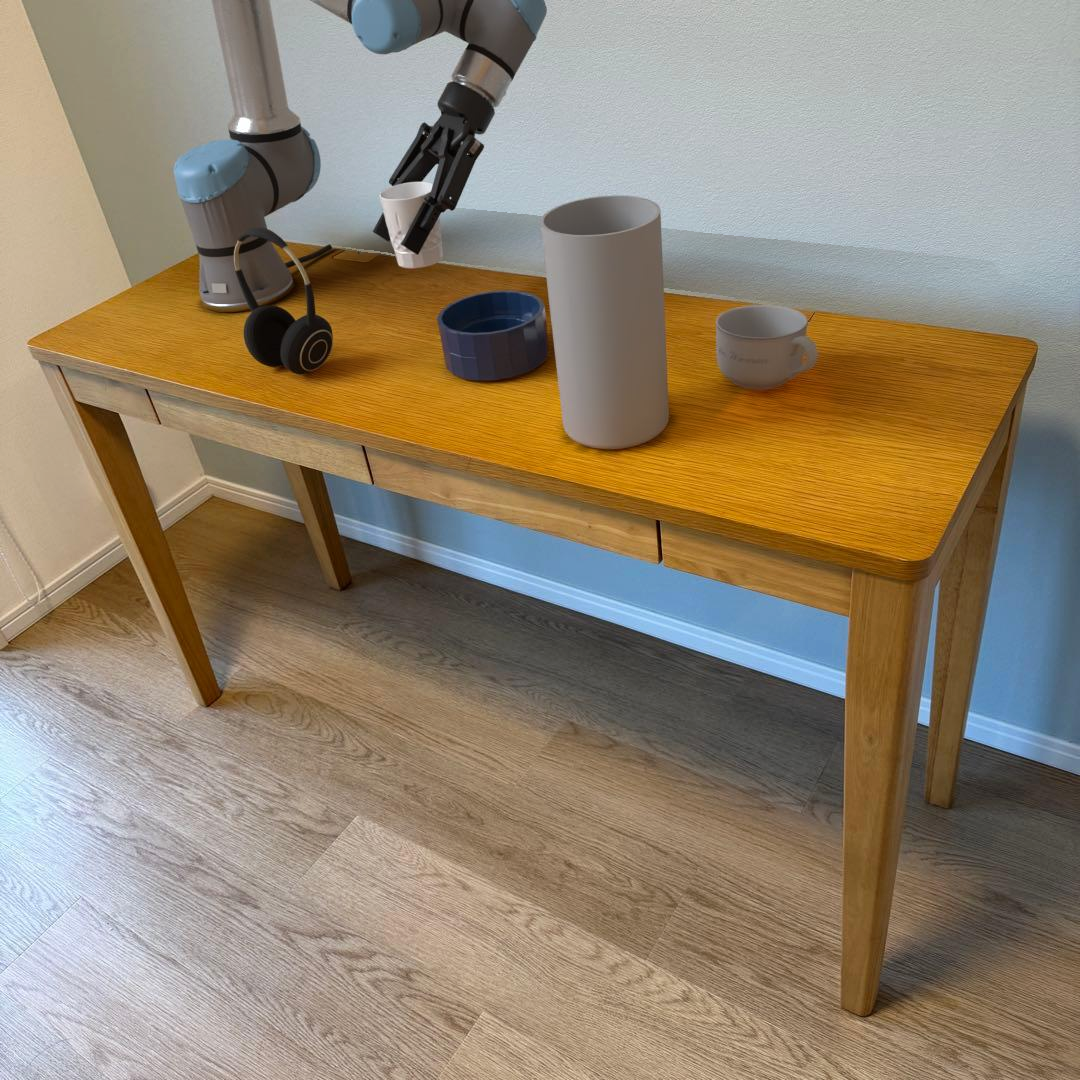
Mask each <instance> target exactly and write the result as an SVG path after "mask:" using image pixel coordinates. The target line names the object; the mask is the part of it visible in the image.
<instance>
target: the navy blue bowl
mask: <svg viewBox="0 0 1080 1080" xmlns="http://www.w3.org/2000/svg"><path fill="white" fill-rule="evenodd" d="M436 321H437V325H438V331H439V336H440V343H441V347H442V353H443V358H444V364H445V367H446V370H447V371H449V372H450V374H452V375H453V376H456V377H459V378H462V379H464V380H471V381H479V382H480V381H481V382H482V381H498V380H503V379H511V378H514V377H517V376H521V375H523V374H527V373H529V372H531V371H533V370H534V369H536V368H538V367H540V366H541V365H542V364H543V363H544V362H545V361H546V360H547V359H548V357H549V353H550V342H549V334H548V326H547V325H548V323H547V315H546V307H545V304H544V302H543V300H542V298H540V297H538V296H537V295H535V294H533V293H529V292H527V291H526V292H525V291H520V290H507V289H506V290H492V291H490V290H489V291H485V292H479V293H478V292H477V293H475V294H471V295H468V296H465V297H461V298H459V299H456V300H455V301H453V302H451V303H448V304H447V305H446V306H445V307H444V308H443V309H441V310H440V312H439V313H438V315H437V317H436Z"/></svg>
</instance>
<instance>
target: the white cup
mask: <svg viewBox="0 0 1080 1080" xmlns="http://www.w3.org/2000/svg"><path fill="white" fill-rule="evenodd" d="M432 186H433V182H427V181H422V182H409V183H403V184H398V185H395V186H392V185H391V186H389V187H387V188H385V189H383V190H382V191H380V192H379V200H380V204H381V208H382V213H383V212H384V216H385V221H386V225H387V228H388V232H389V236H390V239H391V240H390V243H391V246H392V248H393V251H394V255H395V259H396V263H397V265H398V266H399V267H401V268H403V269H421V268H427V267H430V266H433V265H435V264H437V263H439V262H441V261H442V260H443V258H444V249H443V242H442V228H441V217H440V216H439V218H438V220H437V221H436V223H435V225H434V227H433V229H432V230H431V232H430V233H429V235H428V237H427V239H426V241H425V243H424V245H423V247H422V248H421V250H420V252H419V254H418V255H417V254H415V253H413V252H412V251H410V250H409V249H407V248H406V247H404V246H403V245H401V243H402V241H403V239H404V237H405V236H406V234H407V232H408V230H409V228H410V226H411V224H412V222H413V220H414V219H415V217H416V215H417V213H418V211H419V209H420V207H421V206H422V204H423V202H426V201H425V200H424V198H426V197H428V196H429V197H430V193H431V190H432ZM426 203H427V204H429V203H428V202H426ZM429 205H430V204H429Z"/></svg>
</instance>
